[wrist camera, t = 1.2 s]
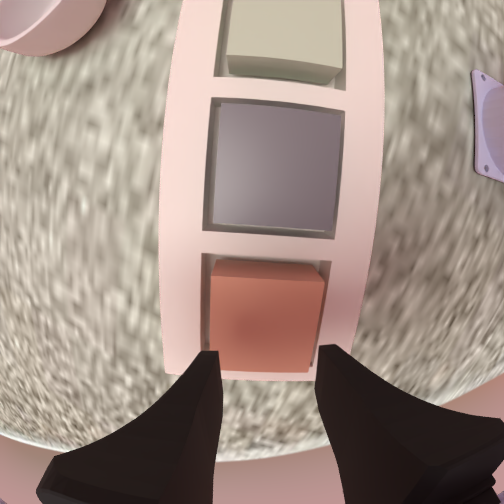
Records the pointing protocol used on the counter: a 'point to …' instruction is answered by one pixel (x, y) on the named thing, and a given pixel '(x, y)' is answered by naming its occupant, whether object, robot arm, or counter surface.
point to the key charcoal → (276, 167)
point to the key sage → (286, 39)
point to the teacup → (45, 24)
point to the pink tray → (252, 236)
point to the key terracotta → (264, 315)
